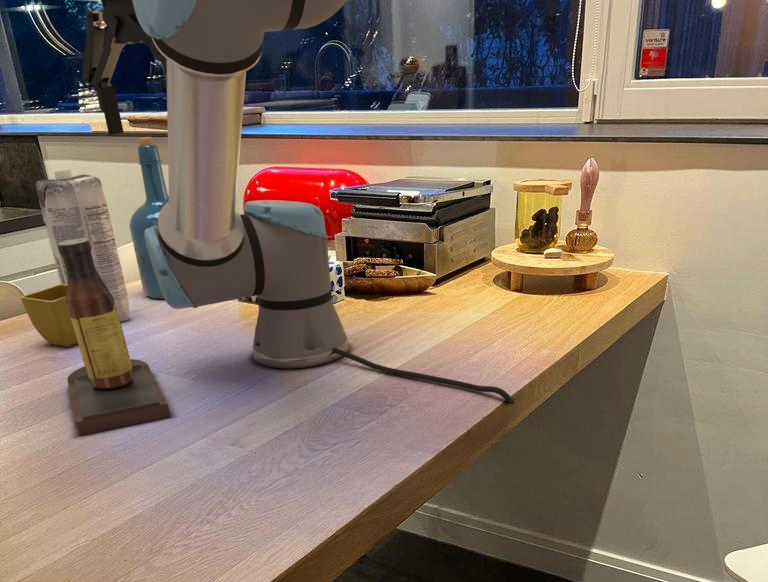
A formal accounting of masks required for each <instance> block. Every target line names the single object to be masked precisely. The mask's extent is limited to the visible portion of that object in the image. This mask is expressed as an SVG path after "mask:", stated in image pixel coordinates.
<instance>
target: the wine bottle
mask: <svg viewBox="0 0 768 582" xmlns="http://www.w3.org/2000/svg"><path fill="white" fill-rule="evenodd" d="M138 143H139V145H138V146H137V155H138V165H140V170H141V175H142V182H143V187H144V193H145V202H144V203H143V204H142V205H141V206H139V207H138V208H137V209H136V210H135V211H134V212H133V214H132V215H131V217H130V221H129V231H130V235H131V241H132V244H133V249H134V254H135V258H136V262H137V268H138V273H139V276H140V281H141V286H142V291H143V293H144V294H145V295H146V296H147V297H149V298H153V299H158V300H159V299H161V300H162V299H163V300H165V299H164V296H163V294H162V292H161V289H160V286H159V284H158V281H157V278H156V275H155V272H154V269H153V266H152V263H151V260H150V256H149V253H148V249H147V246H146V242H145V237H144V232H145V230H146V229H147V228H151V227H152V226H154V225H156V226H158V217H159V213H160V211H161V209H162V208H163V206H164V205H165V204H166V203H167V202H169V192H168V188H167V184H166V180H165V176H164V171H163V167H162V159H161V154H160V152H159V149H158V145H157V144H155V142H154V138H153V137H152V136H143V137H140V138H139V139H138Z"/></svg>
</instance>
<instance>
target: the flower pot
mask: <svg viewBox="0 0 768 582" xmlns="http://www.w3.org/2000/svg"><path fill="white" fill-rule="evenodd" d="M67 286H68V285H65V284H61V283H60V284H57V285H53V286H50V287H47V288H43V289H41V290H38V291H35V292H31V293H28V294H25V295H22V296H20V300H21V302H22V303H21V304H22V305H23V307H24V310H25V311H26V314H27V315H28V318H29V320H30V322H31V324H32V326H33V327H34V328H35V329H34V330H36V331H37V333H38V334H39V335H40V336H41V337H42V338H43V339H44V340H45V341H46V342H48V343H49V344H50V345H55V346H60V347H65V348H69V347H71V346H74V345H76V344H78V341H77V338H76V334H75V331H74V328H73V324H72V321H71V318H70V316H71V315H70V312H69V308H68V305H67V302H66V297H65V293H66V289H67Z"/></svg>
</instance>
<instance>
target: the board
mask: <svg viewBox="0 0 768 582" xmlns="http://www.w3.org/2000/svg"><path fill="white" fill-rule="evenodd" d="M130 360H131V363H132V370H133V375H134V378H133V380H132V382H130V383H128V384H126V385H124V386H122V387H118V388H114V389H98V388H95V387H93V386H92V385H91V381H90V378H89V377H88V374H87V371H86V367H85V365H83V366H82V367H79V368H77V369H76V370H73V371H72V372H70V374H69V375H68V376H67V378H66V379H67V386H68V390H69V395H70V400H71V401H70V402H71V406H72V411H73V415H74V420H75V424H76V428H77V432H78V435H79V436H80V437H81V436H86V435H91V434H94V433H95V434H96V433H100V432H104V431H109V430H114V429H118V428H124V427H128V426H129V427H130V426H133V425H138V424H143V423H147V422H152V421H157V420H163V419H166V418H171V414H170V413H171V412H170V407H169V404H168V402H167V399H166V398H165V396H164V393H163V391H162V389H161V388H160V385H159V384H158V382H157V379H156V377H155V376H154V374H153V371H152V370H151V367H150V365H149V364H148V363H147V362H146V361H143V360H141V359H134V358H130Z"/></svg>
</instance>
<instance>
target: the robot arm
mask: <svg viewBox="0 0 768 582" xmlns="http://www.w3.org/2000/svg"><path fill="white" fill-rule="evenodd" d="M99 1H100V3H101V5H102V11H100V10H86V11H85V22H86V28H87V30H86V38H85V45H84V46H85V47H84V55H83V56H84V57H83V64H82V75H81V80H82V82H83V83H84V84H89V85H91V86H93V87H94V88H95V91H96V97H97V101H98V105H99V109H100V111H101V112H103V115H104V119H105V123H106V128H107V133H108V135H109V136H112V135H113V136H114V135H117V134H118V135H120V134H124V133H125V132H124V127H123V123H122V122H123V121H122V118H121V112H120V108H119V103H118V98H117V93H116V90H115V88H116V87H115V86H113V84H112V83H111V81H112V78H113V74H114V72H115V69H116V67H117V64H118V62H119V61H118V60H119V58H120V55H121V52H122V50H123V48H125V47H126V45H133V44H144V45H145V46H147V47H148V48H149V49H150V51H151V53H153V55H154V56H155V57H156V58H157V59H158V61H159V62H160V63H161V64H162V66H163V67H164V68H165V70H166V107H167V108H166V111H167V112H166V115H167V116H166V117H167V120H166V121H167V165H168V166H167V169H168V171H167V172H168V175H167V176H168V196H169V202H167V203H166V204H165V205H164V206H163V208H162V209H161V211H160V213H159V217H158V226H156V225H154V226H152V227H151V228H147V229H146V230H145V232H144V237H145V242H146V246H147V249H148V253H149V256H150V260H151V263H152V266H153V269H154V272H155V275H156V278H157V281H158V284H159V286H160V289H161V292H162V294H163V296H164V299H163V300H165V302H166V304H167V305H168V306H169V307H170V308H172V309H175V310H182V309H191V308H193V309H197V308H199V307H203V306H204V307H205V306H207V305H208V306H209V305H214V304H220V303H224V302H229V301H235V300H240V299H245V298H250V297H251V298H252V297H256V298H257V306H258V312H257V313H258V314H257V320H256V324H255V329H254V337H253V344H252V351H253V357H254V360H255V362H257V363H259V364H260V365H263V366H266V367H270V368H275V369H303V368H304V369H305V368H311V367H316V366H320V365H325V364H328V363H332V362H334V361H336V360H338V359H340V358H342V357H344V358H347V359H349V360H352V361H355V362H357V363H359V364H362V365H364V366H365V367H368V368H371V369H374V370H376V371H380V372H384V373H387V374H391V375H396V376H400V377H408V378H413V379H418V380H423V381H427V382H432V383H433V382H434V383H438V384H443V385H448V386H453V387H458V388H461V389H467V390H470V391H474V392H481V393H495V394H497V395H499V396H500V397H502V398H503V399H504V400H505V402H506V403H507V404H509V405H515V404H516V402H515V401H514V398H513V397H511V395H510V394H509V393H508V392H507V391H505V390H504V389H502V388H500V387H498V386H491V385H478V384H473V383H471V382H470V383H469V382H466V381H460V380H456V379H450V378H447V377H446V378H445V377H440V376H436V375H430V374H426V373H420V372H414V371H409V370H402V369H398V368H393V367H388V366H385V365H381V364H378V363H375V362H372V361H371V360H368V359H365V358H363V357H360V356H359V355H356V354H353V353H350V352H348V350H349V342H348V336H347V333H346V331H345V329H344V326H343V324H342V321H341V319H340V317H339V314H338V312H337V309H336V307H335V305H334V302H333V293H332V282H331V273H330V260H329V250H328V249H329V247H328V238H329V236H328V234H327V232H326V224H325V218H324V214H323V212H322V210H321V209H320V207H318V206H317V205H314V204H312V203H308V202H302V201H292V200H275V199H274V200H273V199H264V200H263V199H260V200H258V199H257V200H250V201H246V202H244V205H243V210H242V211H243V214H240V213H239V212H238V210H237V209H236V204H237V203H236V202H237V189H238V177H239V167H240V152H241V140H242V129H243V128H242V127H243V115H244V103H245V90H246V78H247V72H248V71H249V70H251V69H252V68H254V67H255V66H256V65H257V64H258V62H259V60H260V59H261V56H262V53H263V46H264V38H265V33H266V32H280V31H292V30H302V29H308V28H311V27H312V28H313V27H316V26H317V25H320V24H321V23H323V22H325V21H327V20H328V19H330V18H331V17H333V16H334V15H335V14H336V13H337V12H338V11H339V10H340V9H341V8H342V7H343V6H344V5H345V4H346V2H347V0H99ZM106 27H107V31H106V29H105V28H106ZM105 31H106V33H105Z"/></svg>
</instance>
